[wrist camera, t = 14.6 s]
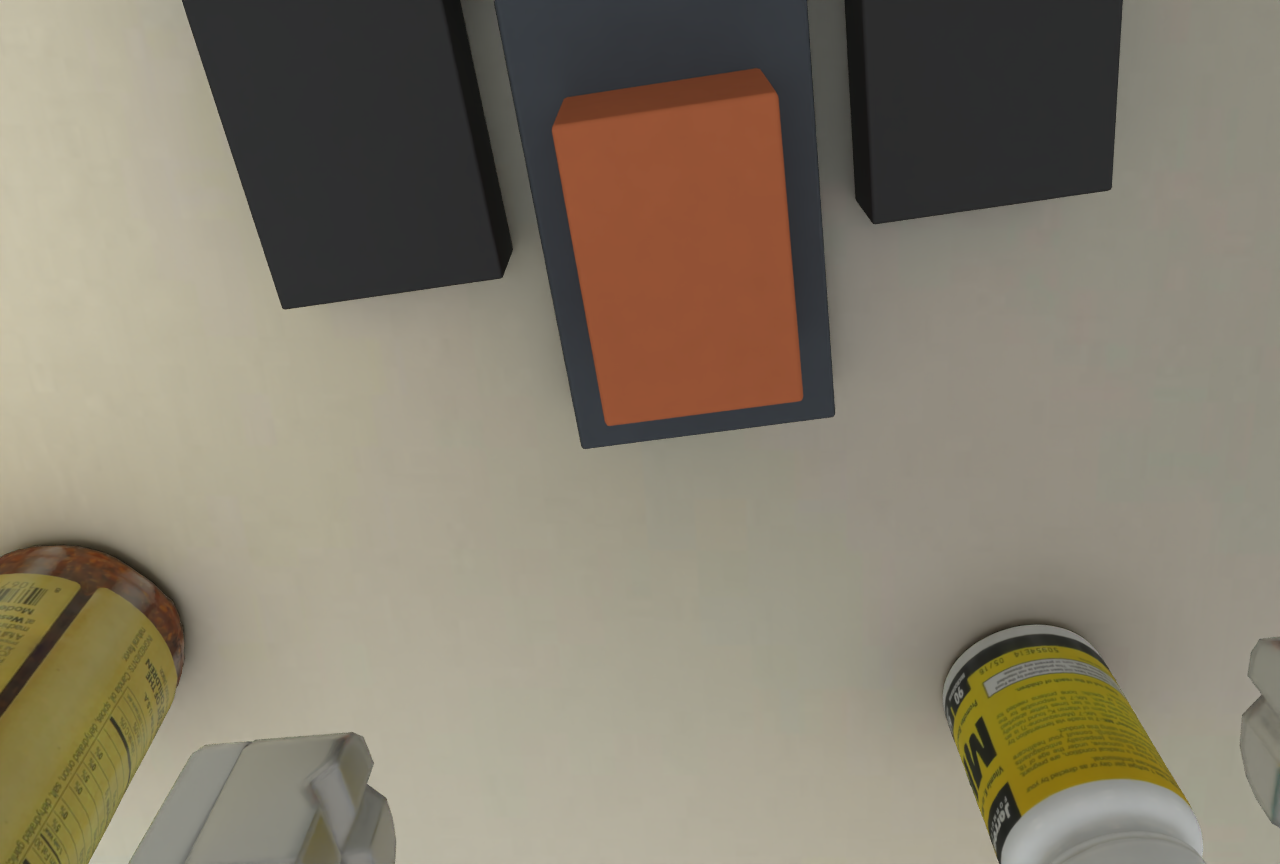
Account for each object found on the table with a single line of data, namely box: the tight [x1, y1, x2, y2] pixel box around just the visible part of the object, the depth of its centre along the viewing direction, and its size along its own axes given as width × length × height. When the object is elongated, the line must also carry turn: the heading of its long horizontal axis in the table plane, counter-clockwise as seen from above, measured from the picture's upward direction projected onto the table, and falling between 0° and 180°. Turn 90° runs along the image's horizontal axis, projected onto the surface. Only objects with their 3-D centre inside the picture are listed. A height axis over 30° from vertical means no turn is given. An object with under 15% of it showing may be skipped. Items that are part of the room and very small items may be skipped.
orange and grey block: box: [494, 0, 835, 449], centre depth 21 cm, size 6×10×5 cm, turn 8°
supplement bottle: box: [943, 625, 1206, 864], centre depth 26 cm, size 5×5×8 cm
